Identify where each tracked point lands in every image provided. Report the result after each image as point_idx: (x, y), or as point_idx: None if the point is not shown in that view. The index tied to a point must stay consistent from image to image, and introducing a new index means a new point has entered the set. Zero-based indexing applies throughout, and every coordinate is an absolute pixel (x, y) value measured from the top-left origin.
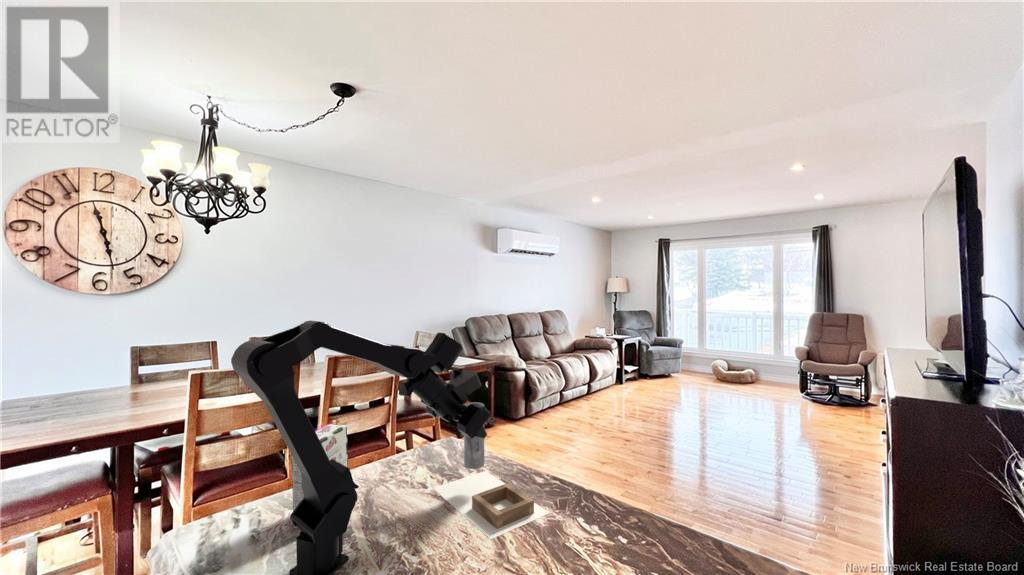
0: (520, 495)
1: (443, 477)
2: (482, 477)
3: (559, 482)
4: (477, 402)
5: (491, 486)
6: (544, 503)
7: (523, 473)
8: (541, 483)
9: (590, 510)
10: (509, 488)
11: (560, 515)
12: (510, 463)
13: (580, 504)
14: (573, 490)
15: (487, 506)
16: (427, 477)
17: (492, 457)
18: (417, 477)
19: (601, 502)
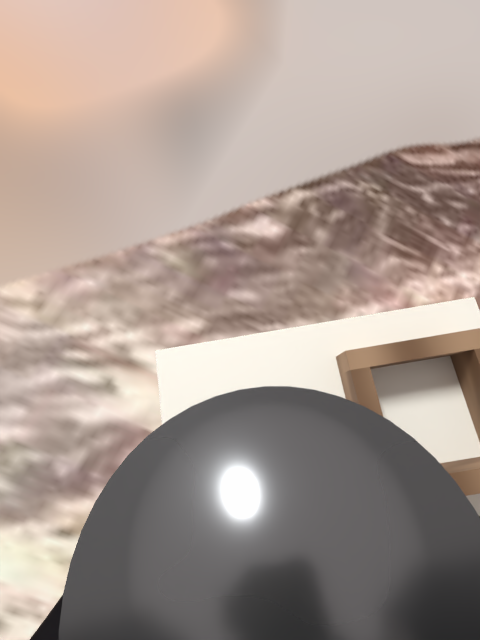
0: (441, 350)
1: (96, 492)
2: (193, 380)
3: (304, 191)
4: (132, 454)
5: (264, 379)
6: (391, 278)
7: (209, 249)
8: (287, 233)
9: (464, 199)
10: (384, 361)
11: (461, 272)
12: (129, 252)
13: (429, 204)
14: (358, 183)
15: (477, 487)
16: (62, 550)
17: (59, 283)
18: (40, 588)
19: (439, 159)
